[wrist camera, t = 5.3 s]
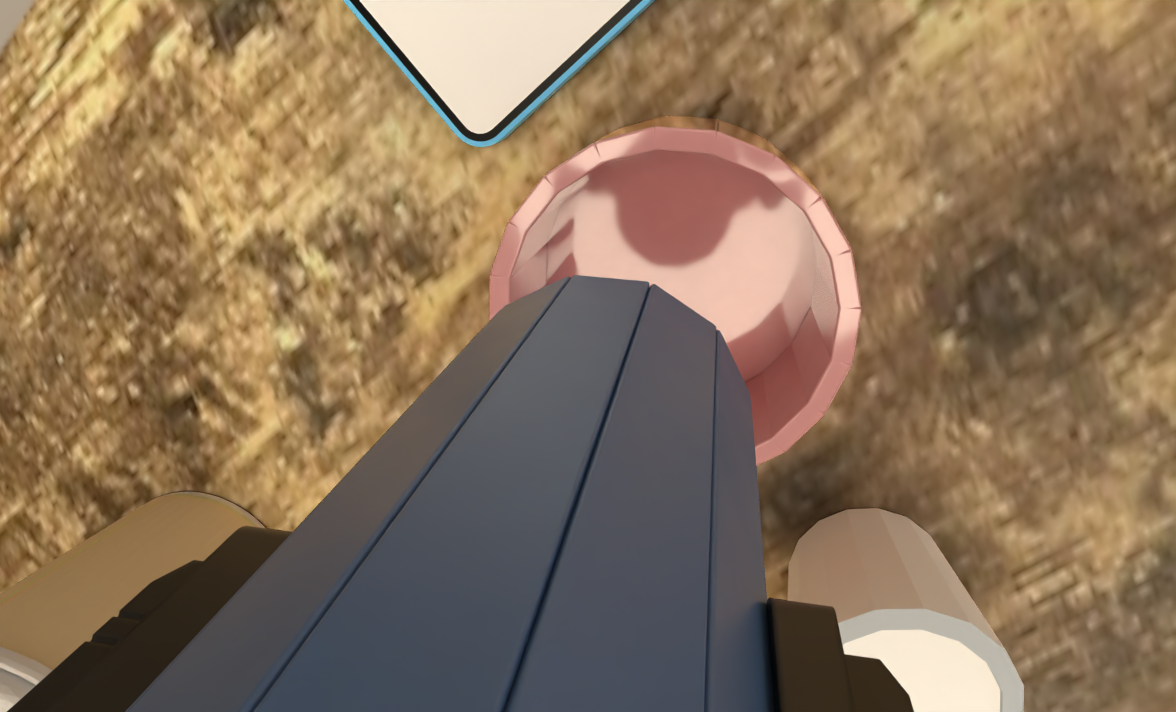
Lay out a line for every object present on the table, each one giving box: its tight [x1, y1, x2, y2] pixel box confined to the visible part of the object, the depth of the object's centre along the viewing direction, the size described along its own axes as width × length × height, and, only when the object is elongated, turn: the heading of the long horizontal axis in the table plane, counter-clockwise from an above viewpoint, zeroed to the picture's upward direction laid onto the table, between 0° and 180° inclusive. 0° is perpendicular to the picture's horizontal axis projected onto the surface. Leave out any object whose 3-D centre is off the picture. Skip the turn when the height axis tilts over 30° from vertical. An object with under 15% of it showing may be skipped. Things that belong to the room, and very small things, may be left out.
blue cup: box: [126, 275, 775, 712], centre depth 11 cm, size 6×6×12 cm
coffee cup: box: [0, 492, 265, 712], centre depth 30 cm, size 9×9×12 cm
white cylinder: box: [788, 508, 1024, 712], centre depth 28 cm, size 7×7×7 cm
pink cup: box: [489, 116, 862, 466], centre depth 26 cm, size 10×10×6 cm
